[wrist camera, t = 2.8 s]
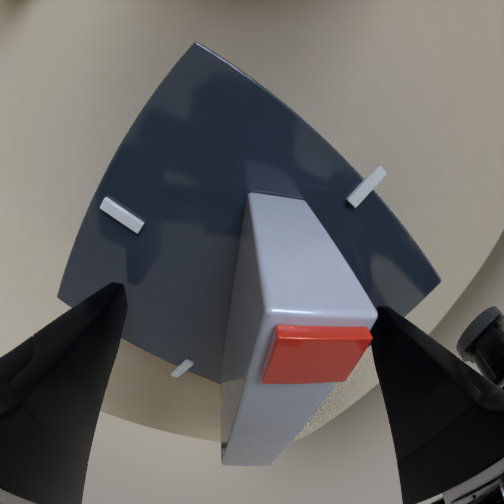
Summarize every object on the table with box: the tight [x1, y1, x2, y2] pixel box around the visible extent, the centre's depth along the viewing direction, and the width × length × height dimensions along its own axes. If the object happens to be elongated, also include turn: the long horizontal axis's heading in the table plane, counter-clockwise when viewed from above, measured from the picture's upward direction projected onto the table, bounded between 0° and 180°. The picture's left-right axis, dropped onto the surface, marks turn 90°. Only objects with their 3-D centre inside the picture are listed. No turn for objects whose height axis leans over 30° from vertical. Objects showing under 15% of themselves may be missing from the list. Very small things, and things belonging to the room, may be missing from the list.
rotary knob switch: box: [57, 42, 441, 384], centre depth 10 cm, size 12×11×3 cm
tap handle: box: [221, 193, 378, 466], centre depth 7 cm, size 7×2×5 cm, turn 171°
